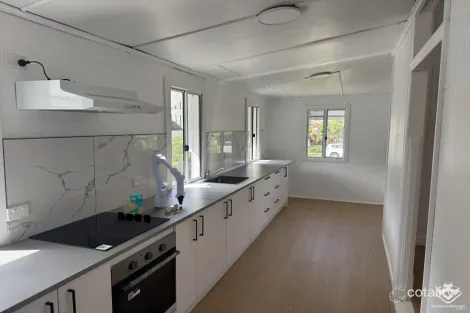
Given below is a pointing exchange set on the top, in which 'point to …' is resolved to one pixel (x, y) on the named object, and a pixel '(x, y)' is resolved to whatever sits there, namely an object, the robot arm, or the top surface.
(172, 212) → the collar board
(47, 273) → the top surface
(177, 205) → the tube
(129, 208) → the toy train
